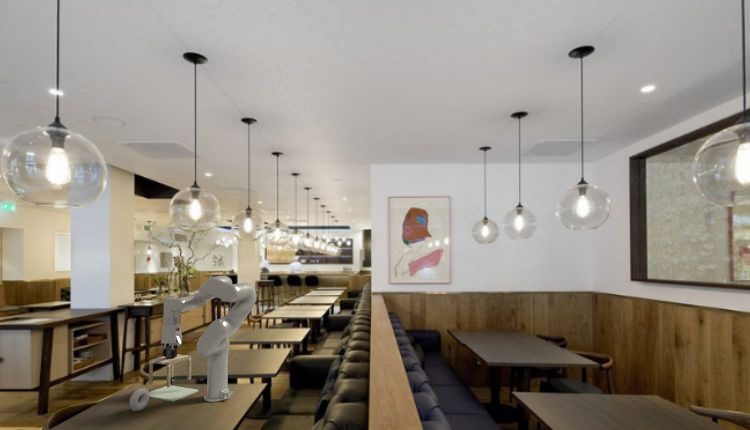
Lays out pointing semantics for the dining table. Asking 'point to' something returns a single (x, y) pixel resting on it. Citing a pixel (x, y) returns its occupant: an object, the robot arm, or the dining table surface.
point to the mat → (171, 393)
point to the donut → (144, 401)
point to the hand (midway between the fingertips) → (170, 356)
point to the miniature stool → (169, 365)
